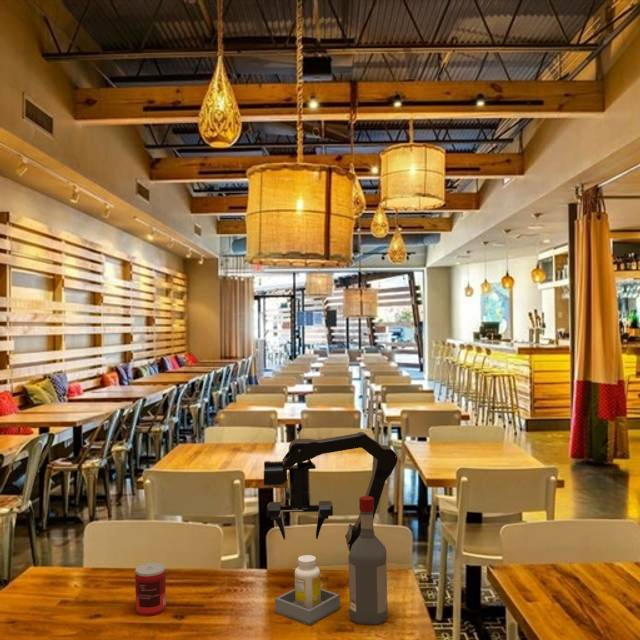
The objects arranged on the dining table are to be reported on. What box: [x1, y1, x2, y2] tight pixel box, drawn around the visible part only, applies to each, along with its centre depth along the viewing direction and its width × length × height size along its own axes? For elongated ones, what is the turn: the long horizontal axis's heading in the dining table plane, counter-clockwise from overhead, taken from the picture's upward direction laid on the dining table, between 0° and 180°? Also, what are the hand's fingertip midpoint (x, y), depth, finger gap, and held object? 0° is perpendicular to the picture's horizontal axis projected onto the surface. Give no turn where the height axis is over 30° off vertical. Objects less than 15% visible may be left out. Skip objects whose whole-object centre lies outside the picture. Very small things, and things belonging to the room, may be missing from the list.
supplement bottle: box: [294, 554, 322, 609], centre depth 164 cm, size 7×7×13 cm
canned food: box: [134, 562, 167, 617], centre depth 166 cm, size 8×8×11 cm
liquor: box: [348, 495, 389, 626], centre depth 160 cm, size 9×9×30 cm
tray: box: [274, 588, 341, 626], centre depth 164 cm, size 12×12×4 cm
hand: (300, 538), depth 180 cm, fingers open, 9 cm apart
